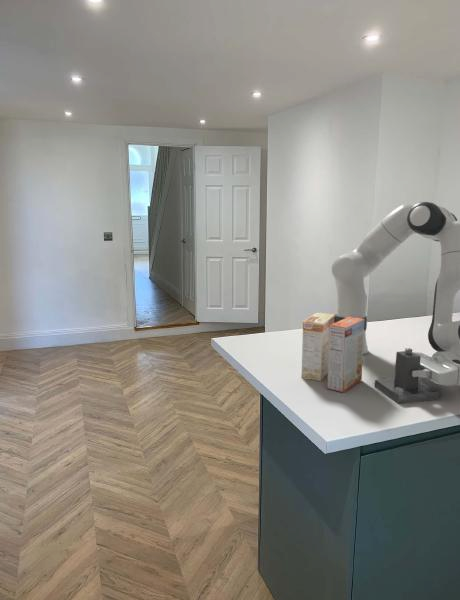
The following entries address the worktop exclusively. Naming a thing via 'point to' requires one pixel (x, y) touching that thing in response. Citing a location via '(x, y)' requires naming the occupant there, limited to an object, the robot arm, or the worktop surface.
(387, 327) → the worktop surface
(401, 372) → the plug
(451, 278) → the robot arm
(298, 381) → the worktop surface
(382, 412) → the worktop surface
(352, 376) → the cracker box
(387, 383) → the socket plate
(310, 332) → the coffeecake box
